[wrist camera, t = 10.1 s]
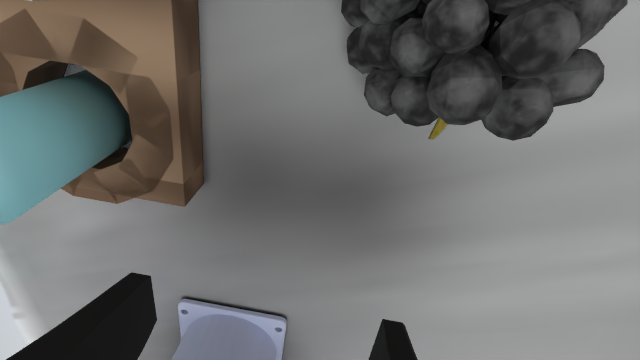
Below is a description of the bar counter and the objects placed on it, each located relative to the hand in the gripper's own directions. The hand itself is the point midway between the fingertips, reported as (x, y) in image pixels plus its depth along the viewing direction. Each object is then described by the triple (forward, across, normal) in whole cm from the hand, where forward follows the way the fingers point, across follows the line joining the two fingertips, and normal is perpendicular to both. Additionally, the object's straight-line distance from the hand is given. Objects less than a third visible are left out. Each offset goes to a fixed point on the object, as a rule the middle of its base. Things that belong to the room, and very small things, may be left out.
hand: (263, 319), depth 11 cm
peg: (+10, +11, -2) cm, 15 cm away
